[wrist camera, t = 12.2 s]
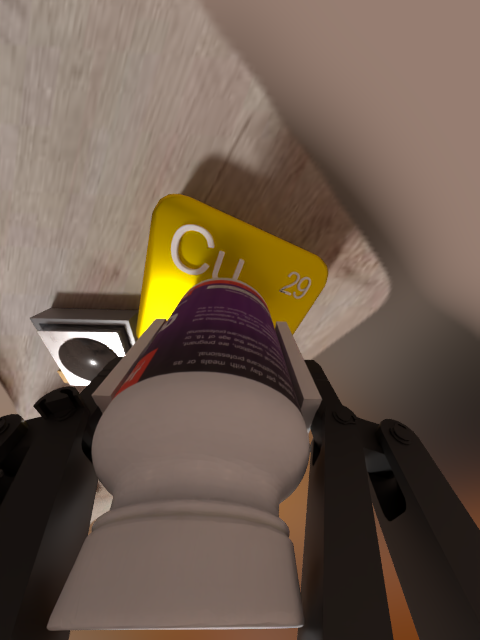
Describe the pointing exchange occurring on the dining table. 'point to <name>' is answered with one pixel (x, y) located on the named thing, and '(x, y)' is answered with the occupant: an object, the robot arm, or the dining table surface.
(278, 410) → the pill bottle
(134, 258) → the dining table surface
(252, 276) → the element tile
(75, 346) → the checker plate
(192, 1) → the dining table surface
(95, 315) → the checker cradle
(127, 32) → the dining table surface
